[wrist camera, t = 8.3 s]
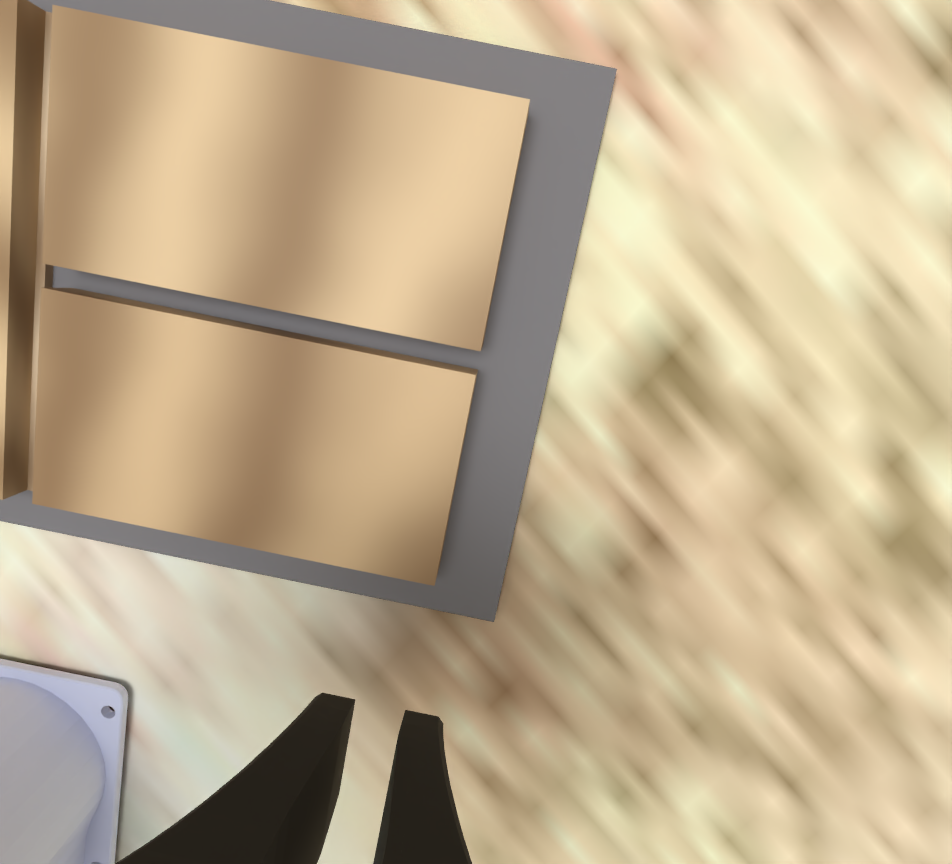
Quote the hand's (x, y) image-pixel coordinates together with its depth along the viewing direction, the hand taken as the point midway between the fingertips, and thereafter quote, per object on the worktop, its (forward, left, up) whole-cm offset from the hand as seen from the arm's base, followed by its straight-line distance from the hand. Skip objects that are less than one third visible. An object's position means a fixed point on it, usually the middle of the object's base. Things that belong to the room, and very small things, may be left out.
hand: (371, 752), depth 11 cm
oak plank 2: (+3, +6, -10) cm, 12 cm away
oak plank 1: (+10, +6, -10) cm, 15 cm away
